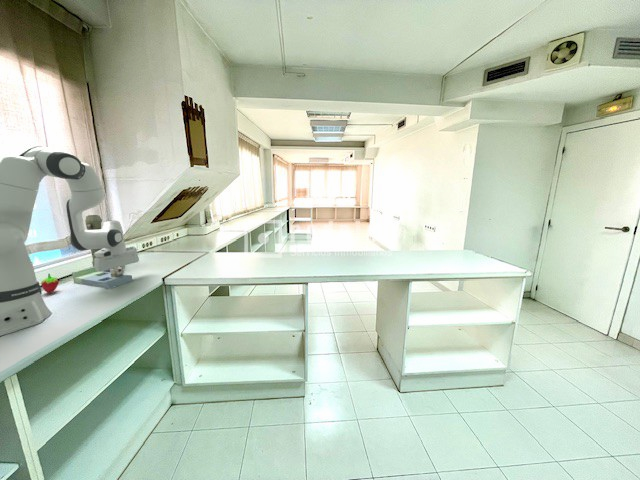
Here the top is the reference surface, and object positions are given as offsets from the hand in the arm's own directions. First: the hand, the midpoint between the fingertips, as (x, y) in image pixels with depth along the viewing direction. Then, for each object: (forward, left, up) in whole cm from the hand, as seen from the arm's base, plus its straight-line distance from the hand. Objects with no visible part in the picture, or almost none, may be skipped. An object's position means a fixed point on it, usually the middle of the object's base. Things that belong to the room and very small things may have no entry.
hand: (120, 274), depth 139 cm
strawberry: (-21, +18, -4) cm, 28 cm away
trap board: (-3, +10, -4) cm, 11 cm away
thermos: (+10, +31, -4) cm, 33 cm away
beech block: (0, +3, -1) cm, 3 cm away
